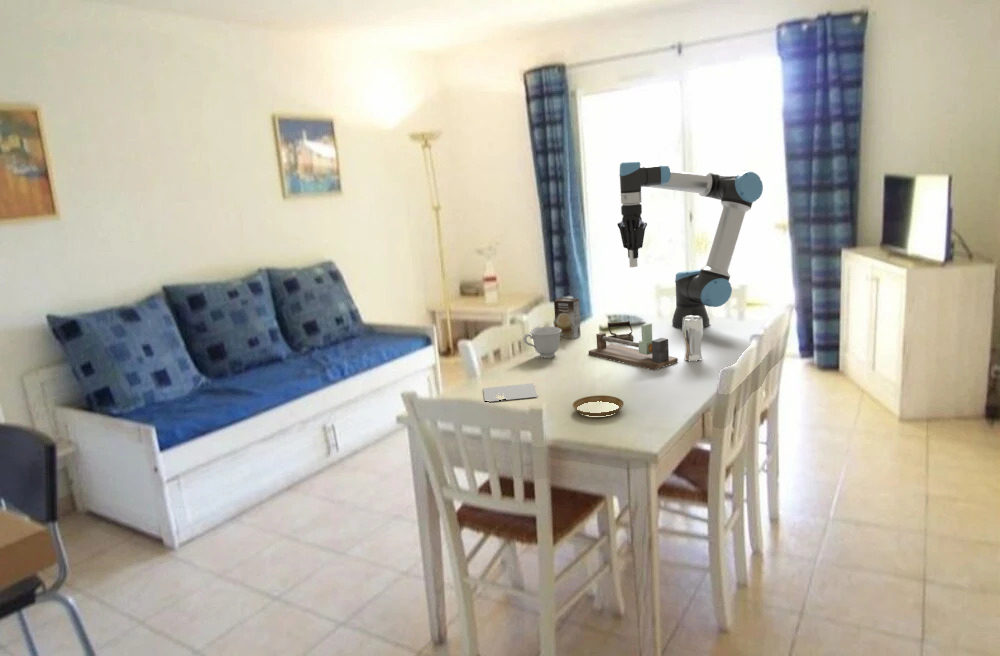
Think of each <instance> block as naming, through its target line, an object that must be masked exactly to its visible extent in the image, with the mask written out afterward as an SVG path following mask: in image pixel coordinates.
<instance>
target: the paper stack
mask: <svg viewBox="0 0 1000 656" xmlns="http://www.w3.org/2000/svg"><path fill="white" fill-rule="evenodd" d="M482 389H483V390H482V392H483V396H484V397H483V398H484V402H485V401H487V400H489V402H491V403H492V402H499V400H500V399H498V398H496V397H497V396H498V395H499V396H500V395H501V397H502V396H503V395H504V397H505V398H504V399H506V400H505V401H509V400H510V401H511V400H518V399H529V398H537V397H538V394H537V391H536V388H535V385H534V383H522V384H514V385H513V384H512V385H503V386H493V387H483V388H482ZM498 393H499V394H498ZM503 393H504V394H503ZM496 395H497V396H496ZM494 397H495V398H494ZM489 402H488V403H489Z"/></svg>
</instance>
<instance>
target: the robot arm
mask: <svg viewBox="0 0 1000 656" xmlns="http://www.w3.org/2000/svg"><path fill="white" fill-rule="evenodd" d="M619 184H620V186H619V187H620V203H621V206H620V212H621V213H620V214H621V215H622V219H621V221H620V222H618V223H617V225H616V226H617V227H618V229H619V233H620V237H621V242H622V246H623V249H627V258H628V259H629V260H628V261H629V268H636V267H638V258H639V250H640V249H642V248H643V246H644V237H645V232H646V228H647V226H648V223H647V222H644V221H643V220H642V213H643V210H642V209H643V207H642V188H644V187H645V188H655V189H662V190H663V189H664V190H670V191H677V192H678V191H679V192H684V193H685V192H686V193H695V194H698V195H699V196H700V197H706V198H711V199H715V200H717V201H718V200H719V201H720V204H721V206H722V211H721V215H720V218H719V221H718V224H717V228H716V230H715V235H714V238H713V241H712V244H711V247H710V252H709V254H708V257H707V261H706V265H705V266H704V267H702V268H701V269H691V270H683V271H679V272H677V273H675V278H674V279H675V280H674V283H675V302H676V305H675V306H676V307H675V310H674V313H673V316H672V322H671V323H672V324H671V325H672V326H673V327H674V328H677V329H678V328H679V329H682V325H683V317H686V316H700V317H702V321H703V328H706V327H709V325H710V317H709V316H708V312H707V309H706V307H713V308H717V307H718V308H719V307H721V306H723V305H724V304H727V302H728V301H729V300H730V298H731V295H732V293H733V292H732V291H733V290H732V289H733V287H732V286H731V285H732V284H731V283H730V279H731V275H730V273H729V267H730V265H731V261H732V258H733V254H734V251H735V248H736V245H737V241H738V239H739V235H740V231H741V228H742V225H743V221H744V218H745V214H746V213H747V212H748V211H750V210H751V209H752V206H753V203H755V202H756V201H757V200H758V199H760V198H761V196H762V193H763V191H764V187H763V181H762V180H761V177H760V176H759V175H758V174H757V173H756V172H753V171H747V170H741V171H739V170H738V171H725V172H724V171H723V172H703V173H693V172H687V171H678V170H672V169H671V168H670V166H669V165H667V164H666V163H665V164H663V163H662V164H661V163H660V164H659V163H658V164H650V165H648V164H647V165H641V162H640V161H639V160H637V161H623V162H621V163H620V164H619Z"/></svg>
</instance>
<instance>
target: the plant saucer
mask: <svg viewBox="0 0 1000 656" xmlns="http://www.w3.org/2000/svg"><path fill="white" fill-rule="evenodd" d="M597 401H599V402H600V401H602V402H609V403H614V404H616V405H618V406H619V408H618V409H616V410H613V411H609V412H601V413H590V412H583V411H580V410H577V407H578V406H580V405H582V404H584V403H588V402H597ZM623 406H624V401H623V399H620V398H619V397H616V396H612V395H597V394H596V395H590V396H585V397H584V396H583V397H582V398H579V399H577V400H574V402H573V403H572V407H573V409H574V410H575V411H576V412H577V413H578V412H579V413H578V414H580V415H581V414H583V415H589V416H606V415H611V414H614V413H616V414H617V413H618V412H619V411H620V410H621V409H622V408H623ZM583 415H582V416H583ZM614 415H615V414H614Z"/></svg>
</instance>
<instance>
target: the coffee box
mask: <svg viewBox="0 0 1000 656" xmlns="http://www.w3.org/2000/svg"><path fill="white" fill-rule="evenodd" d="M553 307H554V310H553V311H554V324H555V325H554V327H557V328H560V329H561V330H562V331H561V332H560V337H561V338H560V339H565V338H569V339H568V340H576V339H578V338H579V337H581V317H580V314H581V313H580V312H581V311H580V299H579V298H575V297H573V298H571V297H559V298H557V299H555V300H553Z"/></svg>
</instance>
